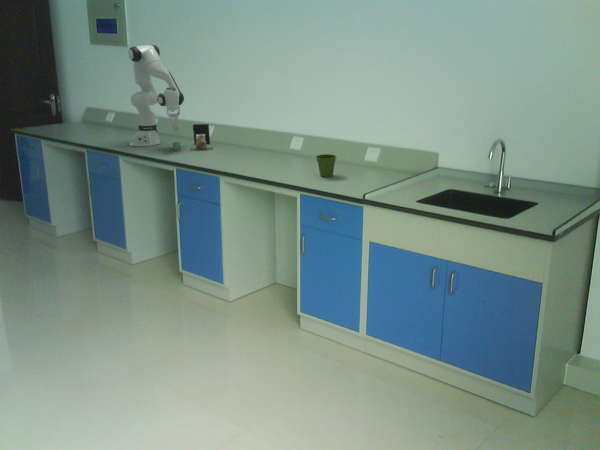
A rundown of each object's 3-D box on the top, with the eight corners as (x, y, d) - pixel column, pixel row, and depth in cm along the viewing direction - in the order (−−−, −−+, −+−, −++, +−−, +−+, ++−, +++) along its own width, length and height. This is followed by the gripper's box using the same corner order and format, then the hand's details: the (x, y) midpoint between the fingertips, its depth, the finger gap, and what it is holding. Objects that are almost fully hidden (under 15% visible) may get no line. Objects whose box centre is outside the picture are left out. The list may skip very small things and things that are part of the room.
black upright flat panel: (210, 144, 444) (208, 123, 439) (209, 145, 440) (207, 124, 435) (195, 144, 445) (194, 123, 441) (194, 145, 441) (192, 124, 437)
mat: (189, 152, 417) (189, 151, 417) (190, 148, 429) (190, 148, 428) (212, 150, 419) (212, 150, 419) (213, 147, 430) (213, 147, 430)
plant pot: (312, 175, 344) (311, 155, 340) (329, 172, 349) (329, 153, 346) (323, 179, 334) (323, 159, 330) (341, 176, 339) (340, 156, 336)
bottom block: (196, 150, 420) (195, 143, 418) (196, 148, 427) (196, 141, 425) (206, 149, 421) (205, 142, 419) (206, 147, 427) (206, 141, 426)
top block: (196, 143, 419) (195, 135, 417) (196, 141, 425) (196, 134, 423) (205, 142, 420) (204, 135, 418) (205, 141, 425) (204, 134, 424)
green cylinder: (172, 152, 419) (172, 143, 417) (173, 150, 424) (172, 142, 422) (180, 151, 420) (180, 143, 418) (181, 150, 425) (180, 141, 423)
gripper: (170, 110, 423) (172, 129, 427) (167, 113, 403) (170, 134, 408) (179, 109, 423) (181, 129, 428) (177, 113, 404) (179, 133, 408)
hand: (175, 131), depth 417 cm, fingers open, 8 cm apart
